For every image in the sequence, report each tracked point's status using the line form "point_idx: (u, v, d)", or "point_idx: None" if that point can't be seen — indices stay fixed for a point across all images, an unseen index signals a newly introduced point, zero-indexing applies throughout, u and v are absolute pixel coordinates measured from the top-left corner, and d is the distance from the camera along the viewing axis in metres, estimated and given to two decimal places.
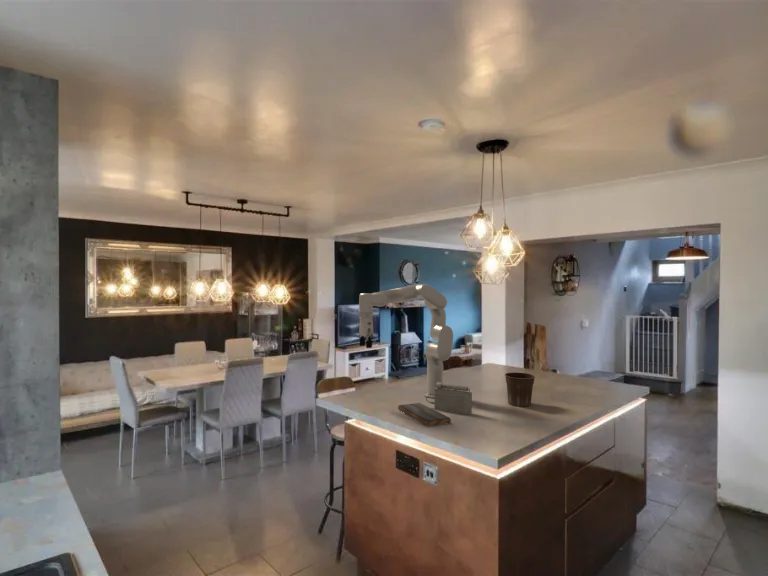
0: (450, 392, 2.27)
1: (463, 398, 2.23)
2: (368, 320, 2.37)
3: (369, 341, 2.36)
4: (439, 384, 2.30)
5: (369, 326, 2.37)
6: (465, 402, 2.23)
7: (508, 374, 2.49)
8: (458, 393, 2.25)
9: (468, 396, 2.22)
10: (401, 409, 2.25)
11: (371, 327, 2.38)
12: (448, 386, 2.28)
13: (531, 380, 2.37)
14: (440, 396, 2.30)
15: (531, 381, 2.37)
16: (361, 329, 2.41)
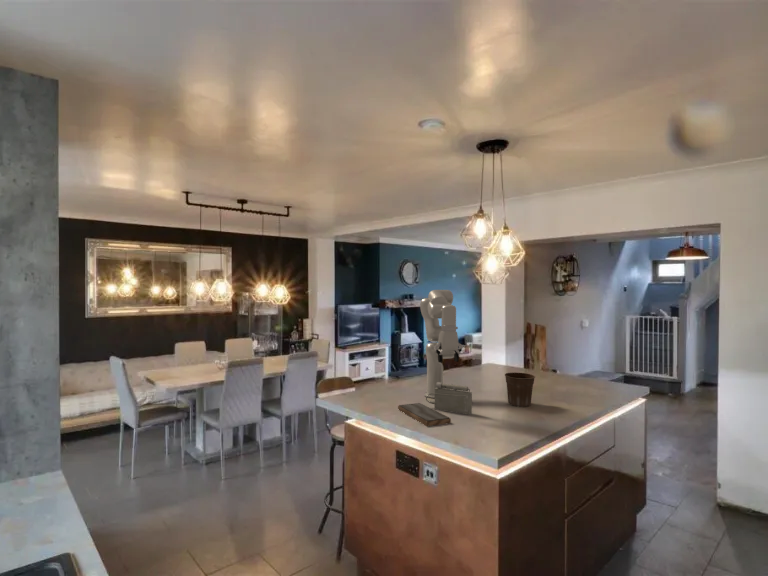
0: (450, 392, 2.27)
1: (463, 398, 2.23)
2: None
3: None
4: (439, 384, 2.30)
5: None
6: (465, 402, 2.23)
7: (508, 374, 2.49)
8: (458, 393, 2.25)
9: (468, 396, 2.22)
10: (401, 409, 2.25)
11: None
12: (448, 386, 2.28)
13: (531, 380, 2.37)
14: (440, 396, 2.30)
15: (531, 381, 2.37)
16: (450, 344, 2.26)
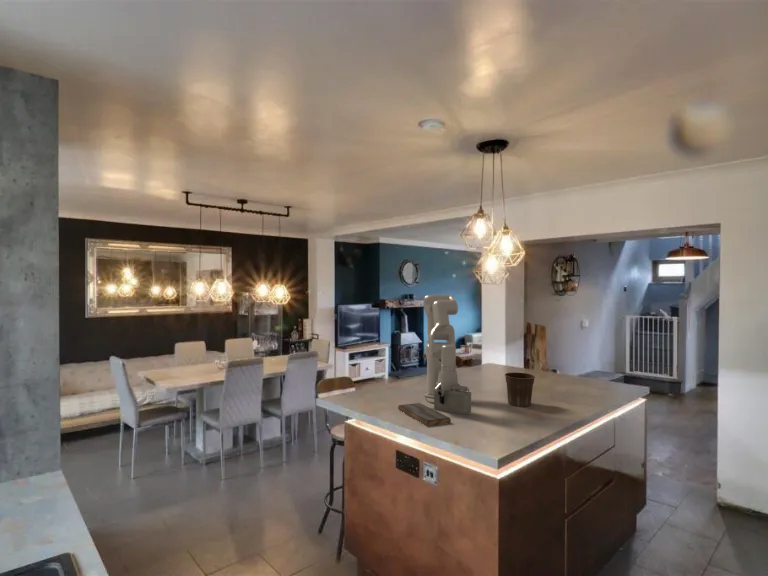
0: (449, 392, 2.27)
1: (462, 398, 2.23)
2: None
3: None
4: None
5: None
6: (464, 402, 2.22)
7: (508, 374, 2.49)
8: (457, 393, 2.24)
9: (467, 396, 2.22)
10: (401, 409, 2.25)
11: None
12: None
13: (531, 380, 2.37)
14: (439, 396, 2.30)
15: (531, 381, 2.37)
16: (450, 383, 2.26)
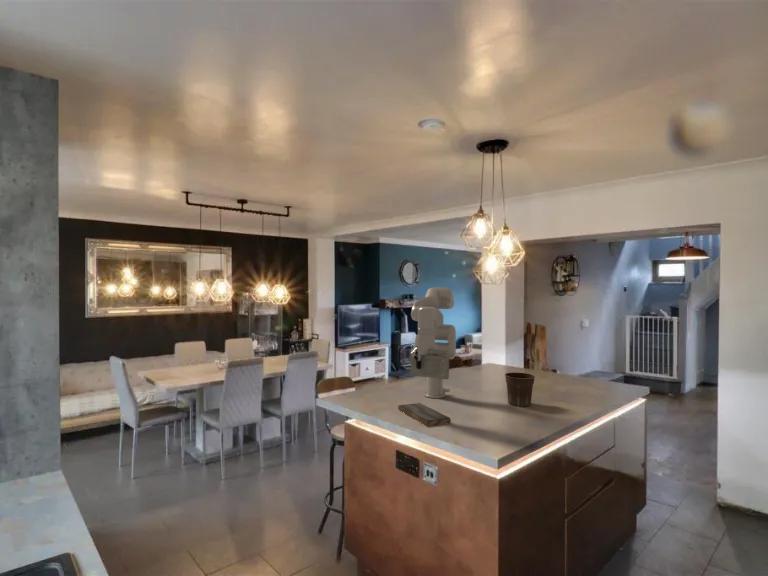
0: (426, 357, 2.17)
1: (440, 362, 2.13)
2: None
3: None
4: None
5: None
6: (442, 366, 2.12)
7: (508, 374, 2.49)
8: (434, 357, 2.14)
9: (445, 360, 2.12)
10: (401, 409, 2.25)
11: None
12: None
13: (531, 380, 2.37)
14: None
15: (531, 381, 2.37)
16: (426, 348, 2.16)
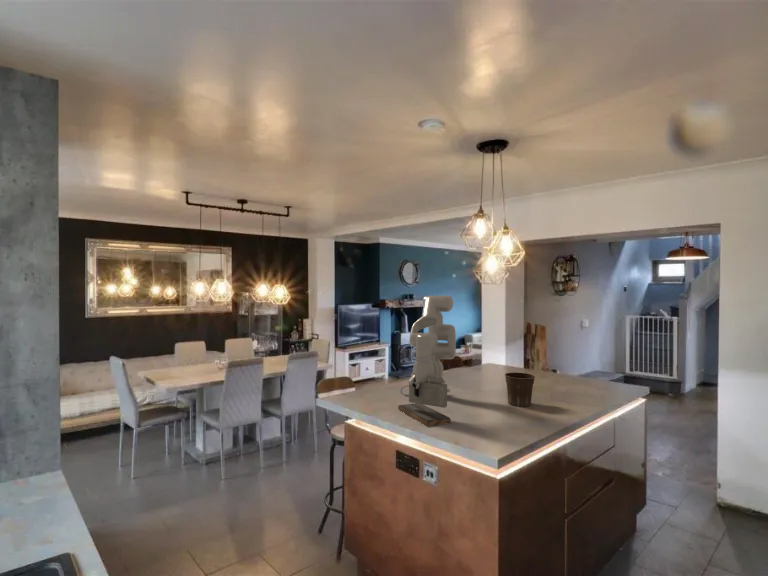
0: (425, 384, 2.16)
1: (438, 390, 2.12)
2: None
3: None
4: None
5: None
6: (440, 395, 2.12)
7: (508, 374, 2.49)
8: (433, 385, 2.14)
9: (443, 388, 2.11)
10: (401, 409, 2.25)
11: None
12: None
13: (531, 380, 2.37)
14: None
15: (531, 381, 2.37)
16: (425, 375, 2.16)
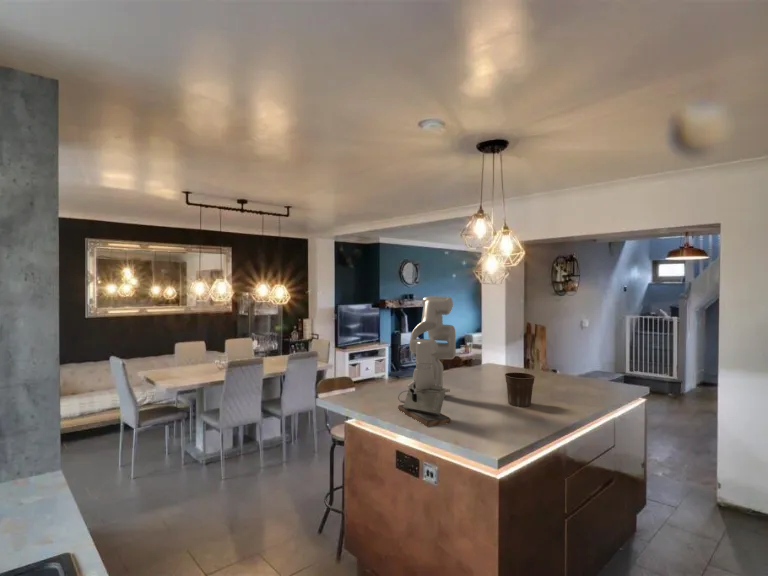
0: (423, 390, 2.18)
1: (434, 396, 2.13)
2: None
3: None
4: None
5: None
6: (435, 400, 2.12)
7: (508, 374, 2.49)
8: (431, 391, 2.16)
9: (440, 394, 2.12)
10: (401, 409, 2.25)
11: None
12: None
13: (531, 380, 2.37)
14: None
15: (531, 381, 2.37)
16: (425, 382, 2.16)
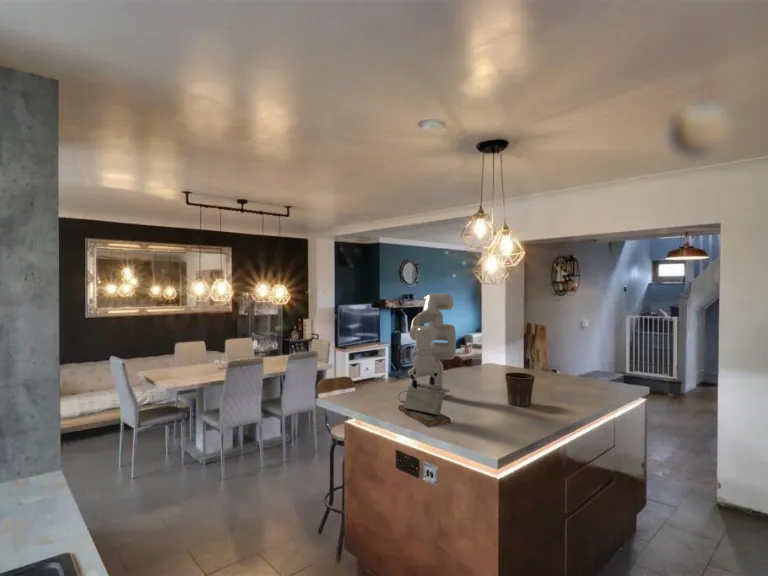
0: (422, 390, 2.18)
1: (434, 396, 2.13)
2: None
3: None
4: None
5: None
6: (435, 401, 2.11)
7: (508, 374, 2.49)
8: (430, 391, 2.15)
9: (439, 395, 2.11)
10: (401, 409, 2.25)
11: None
12: (422, 384, 2.20)
13: (531, 380, 2.37)
14: (412, 394, 2.20)
15: (531, 381, 2.37)
16: (425, 368, 2.16)
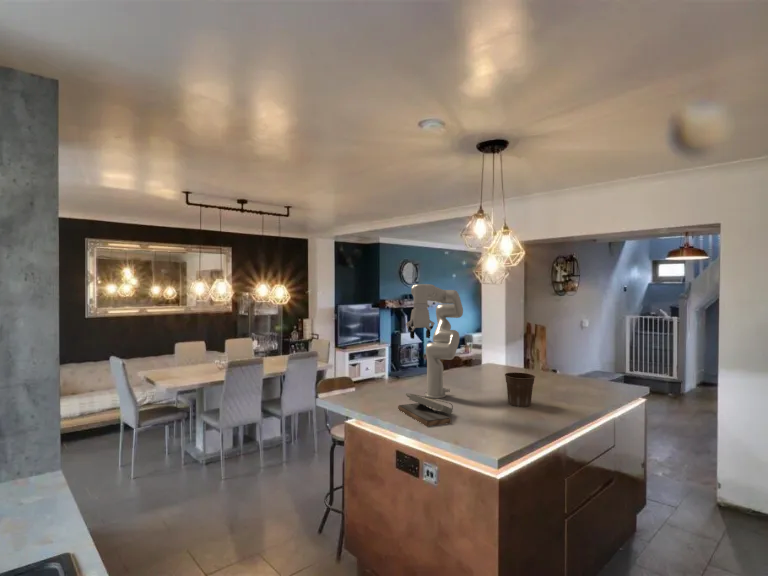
0: None
1: None
2: None
3: None
4: None
5: None
6: None
7: (508, 374, 2.49)
8: None
9: None
10: (401, 409, 2.25)
11: None
12: None
13: (531, 380, 2.37)
14: None
15: (531, 381, 2.37)
16: (421, 321, 2.38)
